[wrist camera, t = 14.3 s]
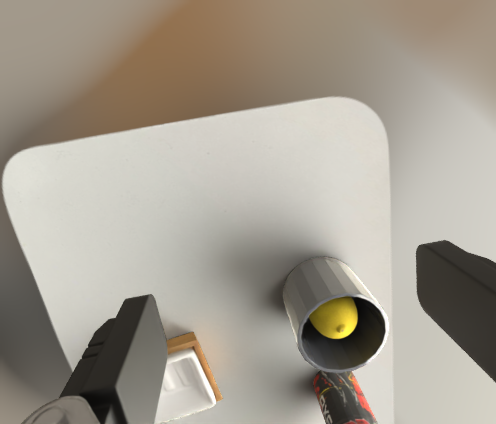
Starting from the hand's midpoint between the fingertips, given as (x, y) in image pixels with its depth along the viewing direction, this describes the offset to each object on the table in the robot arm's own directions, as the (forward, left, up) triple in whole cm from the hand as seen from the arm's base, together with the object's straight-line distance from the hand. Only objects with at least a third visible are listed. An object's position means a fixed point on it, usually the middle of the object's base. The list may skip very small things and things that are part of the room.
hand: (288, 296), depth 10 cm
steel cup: (+19, +8, -30) cm, 36 cm away
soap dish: (+26, -14, -30) cm, 42 cm away
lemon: (+19, +8, -30) cm, 36 cm away
